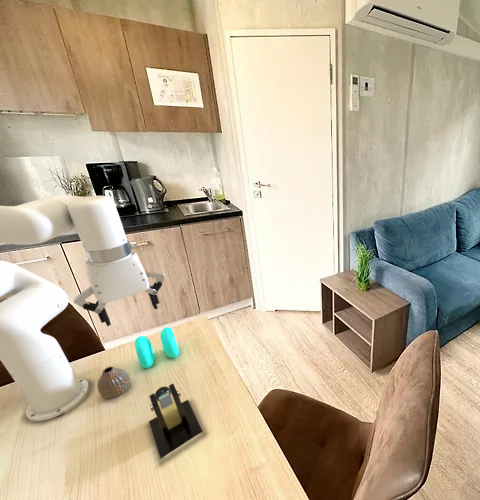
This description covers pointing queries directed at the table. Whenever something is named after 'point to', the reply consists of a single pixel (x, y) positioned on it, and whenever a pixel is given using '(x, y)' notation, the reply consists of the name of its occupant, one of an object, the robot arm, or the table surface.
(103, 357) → the table surface
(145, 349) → the turquoise capsule pair
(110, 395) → the vase
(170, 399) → the ball knob lever
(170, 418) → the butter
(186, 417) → the black lever base
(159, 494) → the table surface
